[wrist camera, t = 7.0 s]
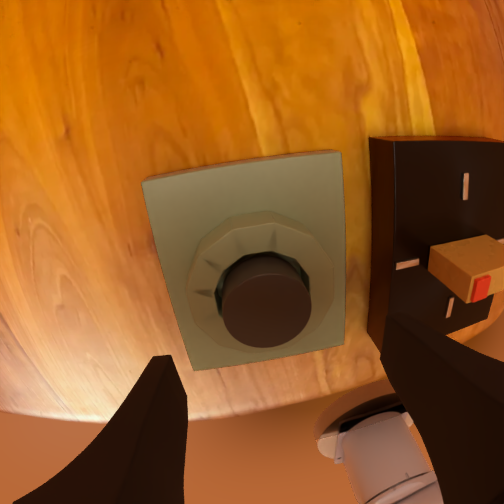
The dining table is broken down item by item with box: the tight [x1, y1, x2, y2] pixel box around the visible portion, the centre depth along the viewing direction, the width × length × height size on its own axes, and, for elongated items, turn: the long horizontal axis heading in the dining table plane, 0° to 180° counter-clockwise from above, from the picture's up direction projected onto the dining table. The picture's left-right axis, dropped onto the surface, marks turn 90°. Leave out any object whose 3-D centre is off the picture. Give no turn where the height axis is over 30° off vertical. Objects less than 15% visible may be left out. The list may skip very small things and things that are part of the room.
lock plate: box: [367, 136, 504, 353], centre depth 16 cm, size 12×9×3 cm
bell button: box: [222, 255, 312, 348], centre depth 13 cm, size 4×4×2 cm
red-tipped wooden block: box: [428, 235, 504, 303], centre depth 13 cm, size 4×1×4 cm, turn 98°
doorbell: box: [141, 150, 346, 371], centre depth 15 cm, size 11×9×3 cm
